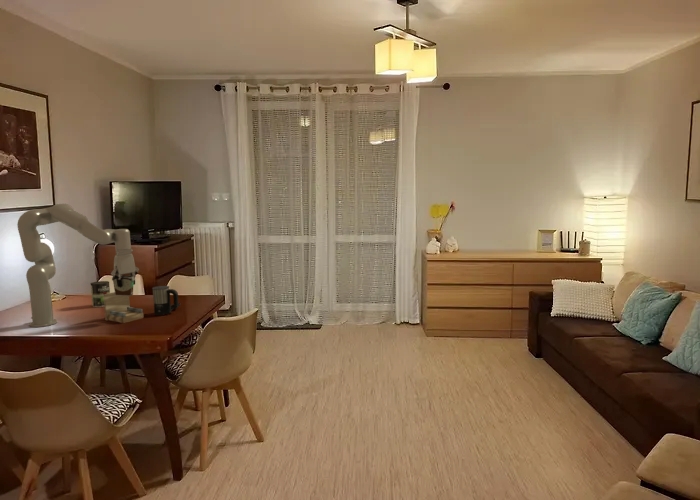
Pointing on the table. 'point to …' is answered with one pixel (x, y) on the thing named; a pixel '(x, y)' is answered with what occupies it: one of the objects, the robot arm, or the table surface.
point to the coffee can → (99, 292)
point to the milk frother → (164, 300)
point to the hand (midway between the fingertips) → (126, 285)
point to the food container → (124, 285)
